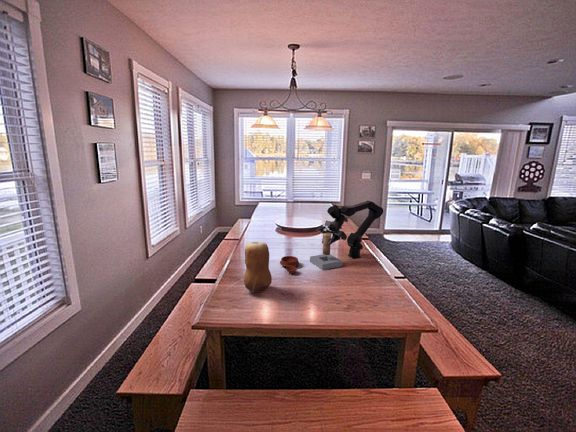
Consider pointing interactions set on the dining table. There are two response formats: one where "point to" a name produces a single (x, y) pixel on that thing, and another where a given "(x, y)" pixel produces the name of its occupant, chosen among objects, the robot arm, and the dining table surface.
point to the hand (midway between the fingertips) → (325, 243)
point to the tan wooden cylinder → (326, 243)
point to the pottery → (290, 263)
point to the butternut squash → (257, 267)
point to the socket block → (325, 261)
